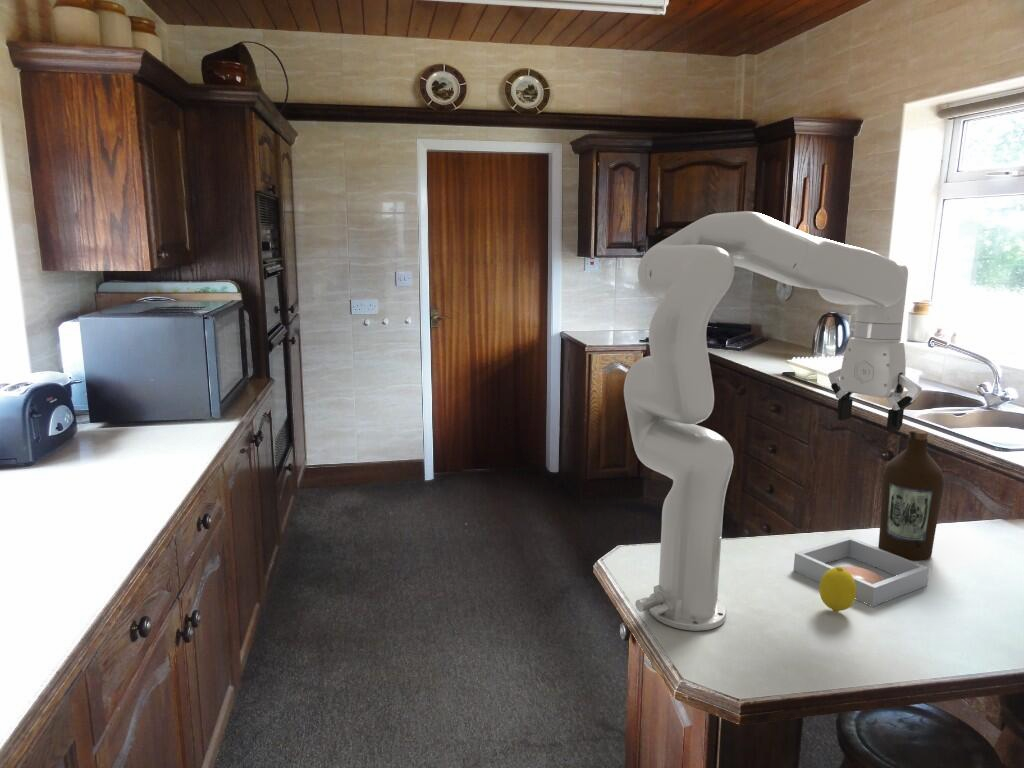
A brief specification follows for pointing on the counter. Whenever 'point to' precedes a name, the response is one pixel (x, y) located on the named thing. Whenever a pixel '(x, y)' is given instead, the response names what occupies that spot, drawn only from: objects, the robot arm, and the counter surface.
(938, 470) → the brown glass bottle
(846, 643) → the counter surface
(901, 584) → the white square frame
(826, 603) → the lemon
